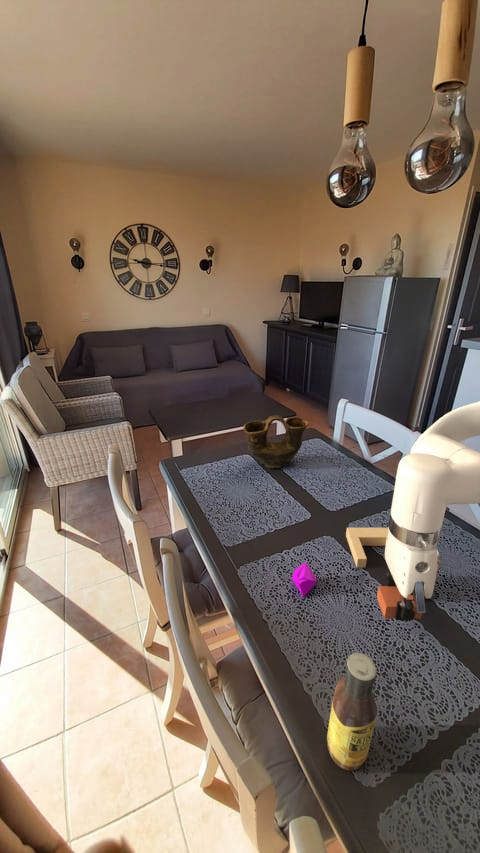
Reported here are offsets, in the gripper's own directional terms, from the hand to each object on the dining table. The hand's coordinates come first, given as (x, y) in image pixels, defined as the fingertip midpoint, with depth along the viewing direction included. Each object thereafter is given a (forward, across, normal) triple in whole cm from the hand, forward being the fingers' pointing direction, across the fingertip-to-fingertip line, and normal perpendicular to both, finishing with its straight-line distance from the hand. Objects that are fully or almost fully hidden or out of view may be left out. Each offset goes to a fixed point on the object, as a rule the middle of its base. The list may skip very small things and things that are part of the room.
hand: (398, 605), depth 66 cm
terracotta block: (+1, 0, 0) cm, 1 cm away
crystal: (+14, +16, +15) cm, 26 cm away
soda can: (+14, +16, -12) cm, 24 cm away
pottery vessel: (+14, +76, +18) cm, 80 cm away
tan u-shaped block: (+14, +28, -5) cm, 32 cm away
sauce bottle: (+14, -16, +12) cm, 24 cm away
